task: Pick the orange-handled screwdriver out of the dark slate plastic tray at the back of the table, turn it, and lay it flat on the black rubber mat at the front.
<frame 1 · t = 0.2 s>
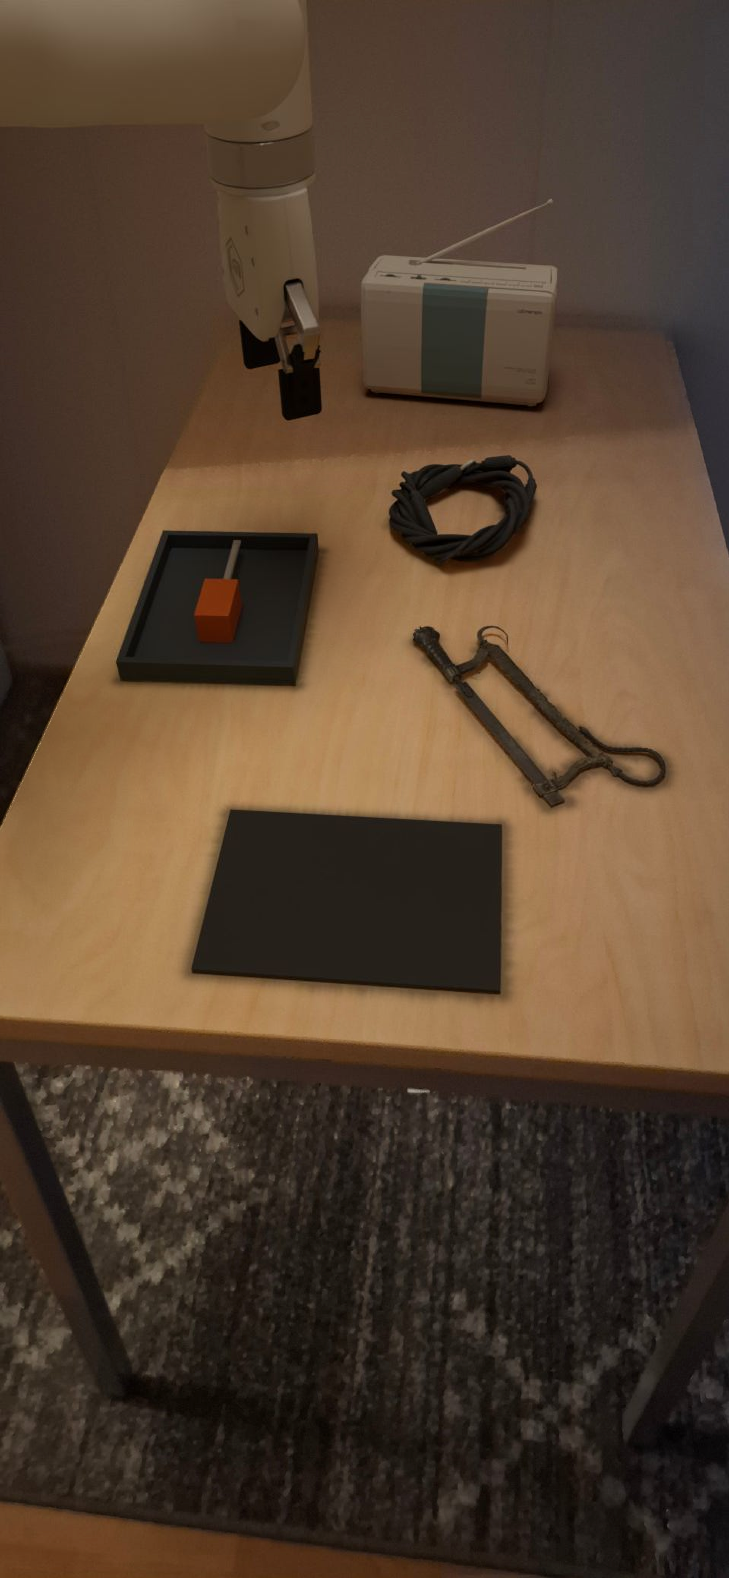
hand: (281, 389, 86), 17 cm above the table, tool pointing down, fingers open, 9 cm apart
screwdriver: (220, 624, 92), point 1 cm above the table, touching tray
radio: (456, 392, 122), on the table
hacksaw: (531, 704, 85), on the table
cable: (457, 525, 103), on the table
tray: (226, 612, 94), on the table
mat: (355, 896, 72), on the table
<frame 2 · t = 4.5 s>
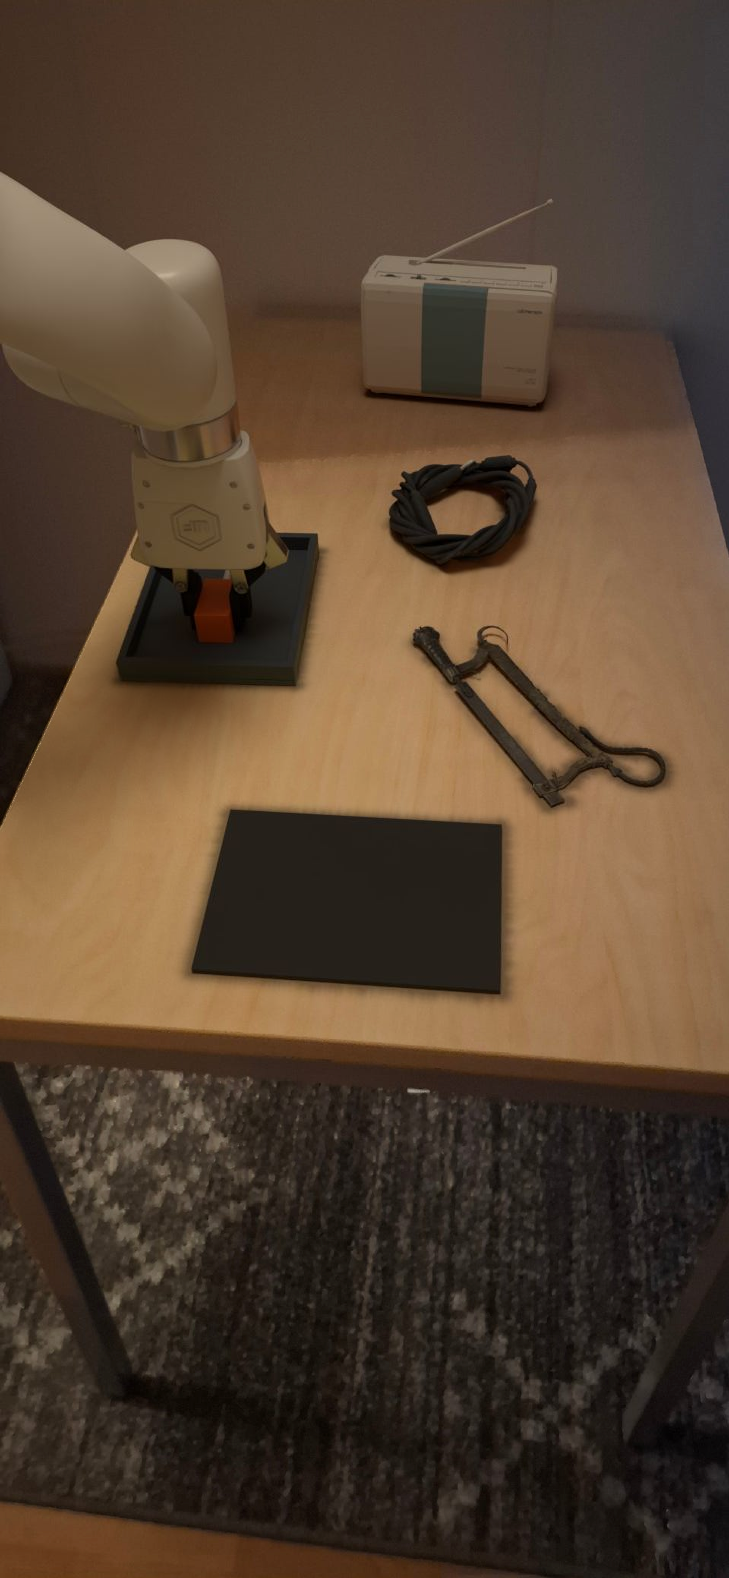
hand: (220, 619, 91), 1 cm above the table, tool pointing down, fingers closed on screwdriver, 3 cm apart
screwdriver: (220, 624, 92), point 1 cm above the table, touching gripper, tray
everything else where it was.
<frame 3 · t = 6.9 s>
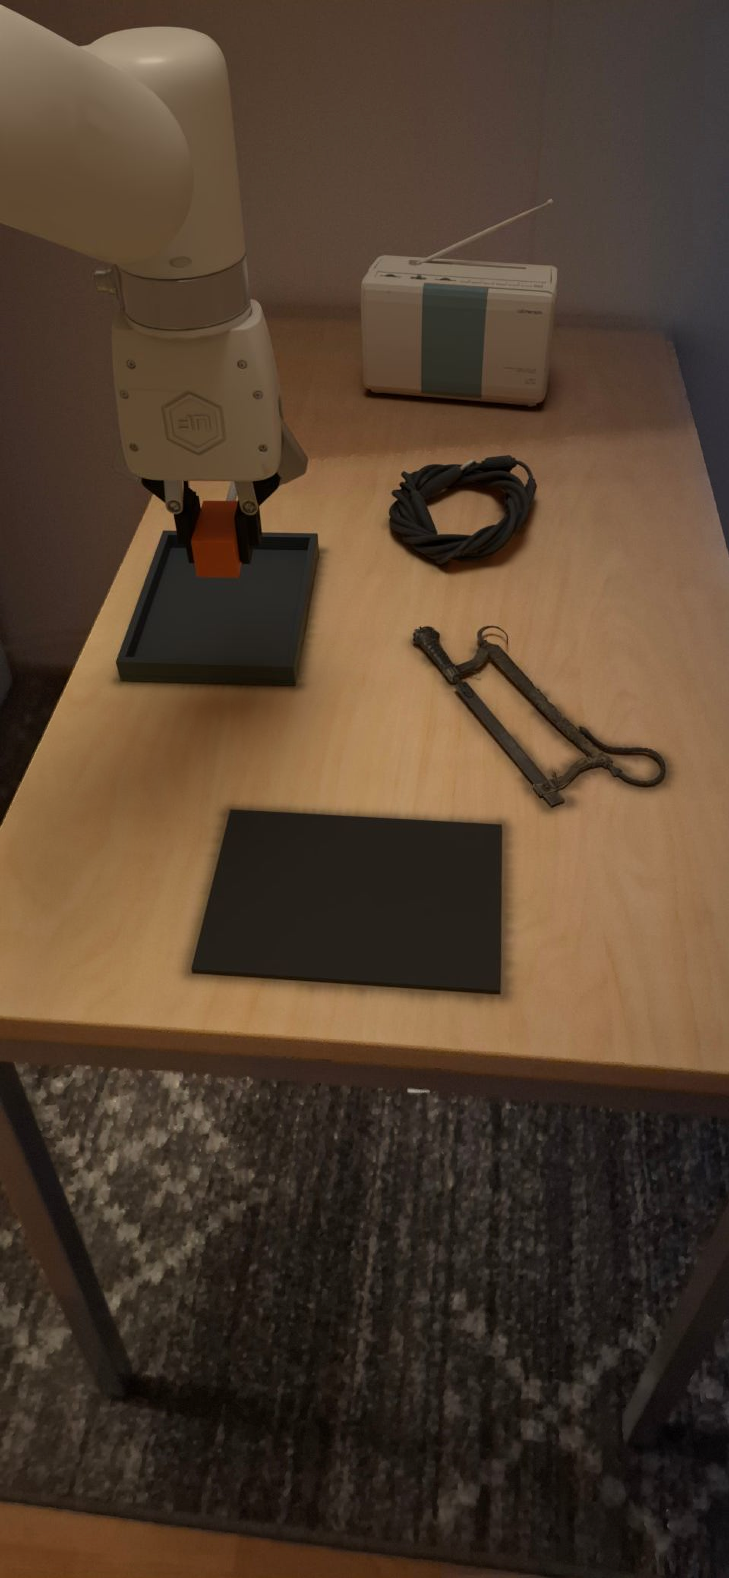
hand: (222, 550, 75), 15 cm above the table, tool pointing down, fingers closed on screwdriver, 3 cm apart
screwdriver: (223, 556, 75), point 14 cm above the table, touching gripper
everything else where it was.
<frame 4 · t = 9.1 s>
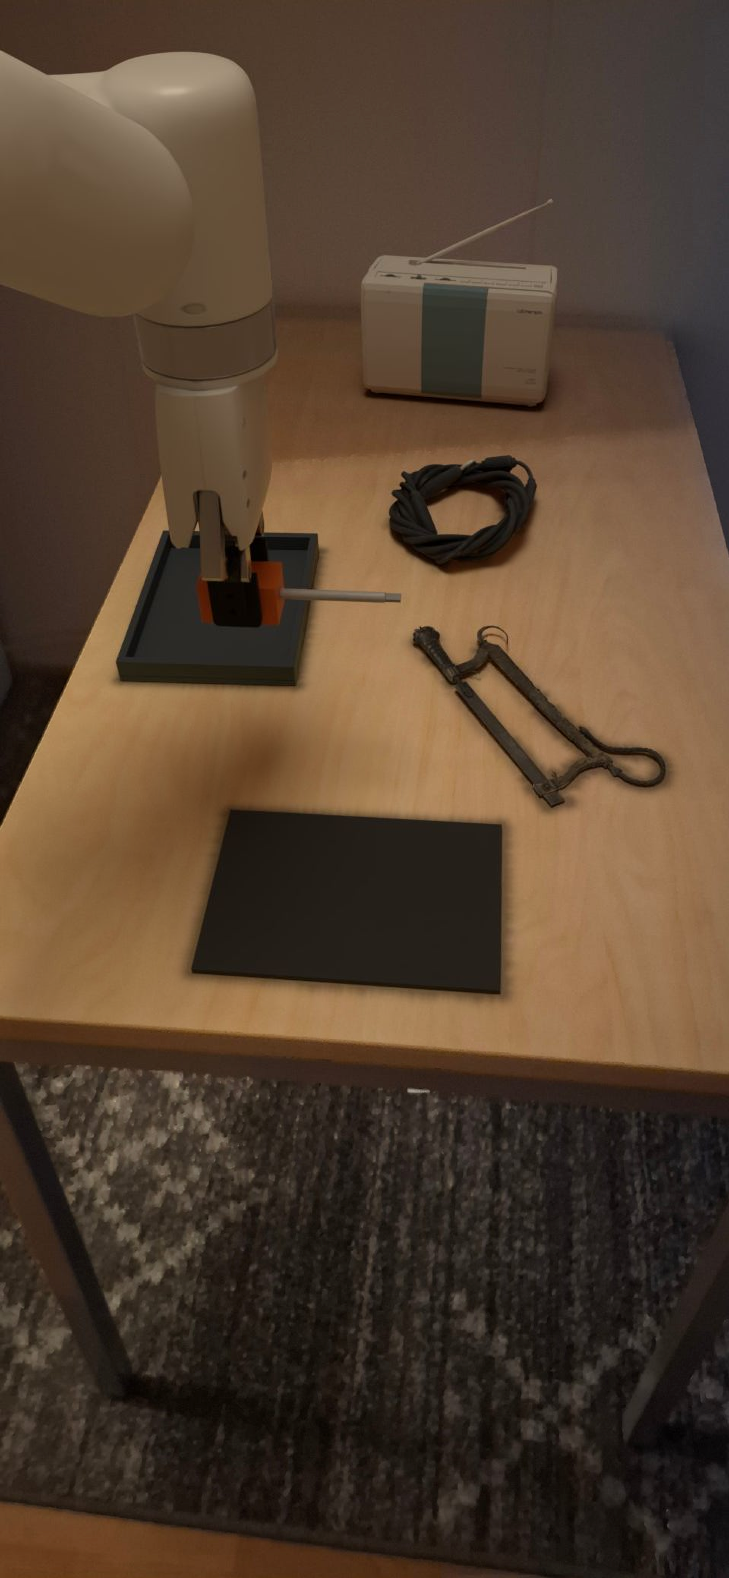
hand: (243, 604, 70), 15 cm above the table, tool pointing down, fingers closed on screwdriver, 3 cm apart
screwdriver: (244, 610, 70), point 15 cm above the table, touching gripper
everything else where it was.
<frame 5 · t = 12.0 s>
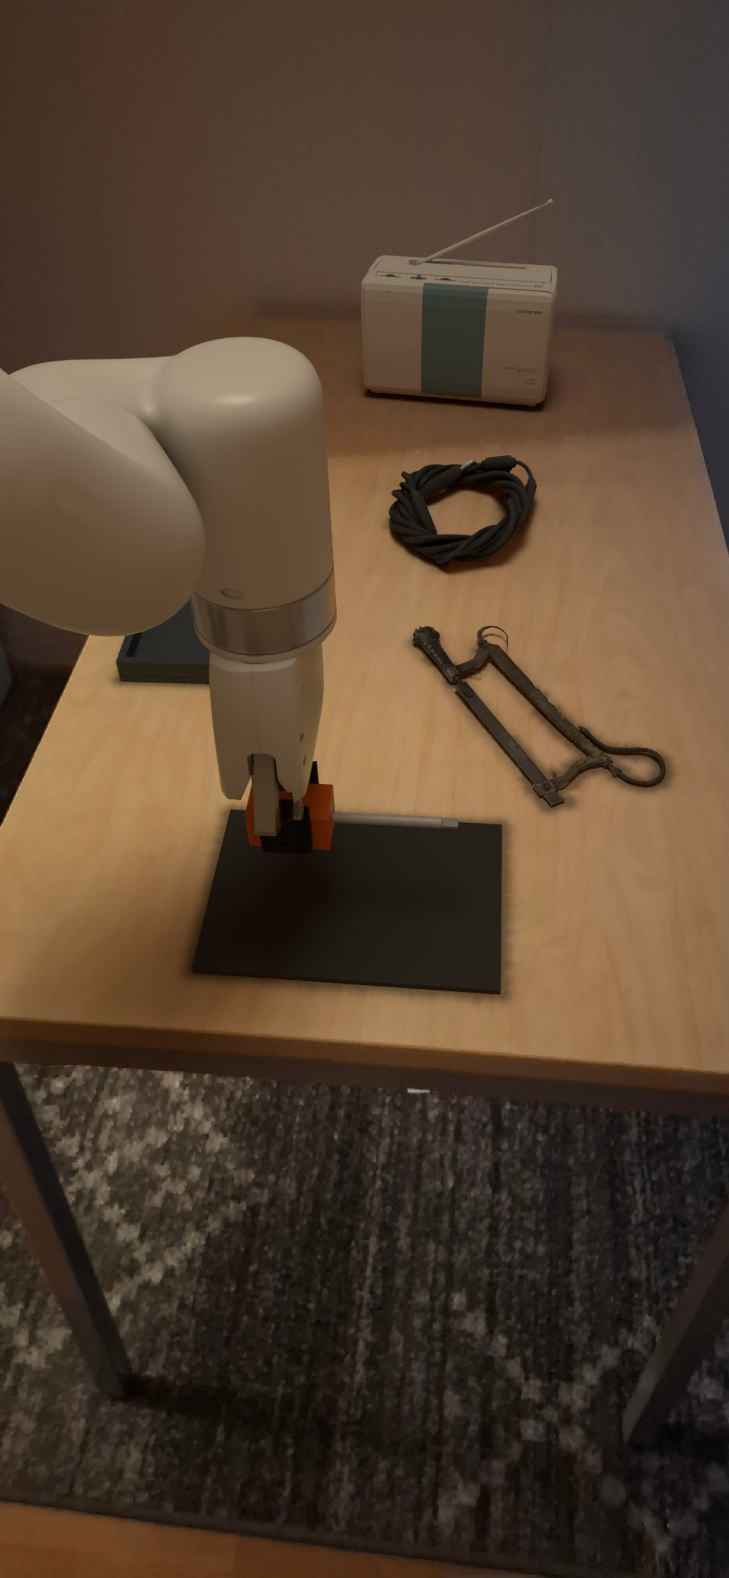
hand: (291, 825, 67), 7 cm above the table, tool pointing down, fingers closed on screwdriver, 3 cm apart
screwdriver: (293, 830, 67), point 7 cm above the table, touching gripper
everything else where it was.
when the fingers open (1 cm above the table, at t = 13.8 s): screwdriver stays where it is, resting on mat.
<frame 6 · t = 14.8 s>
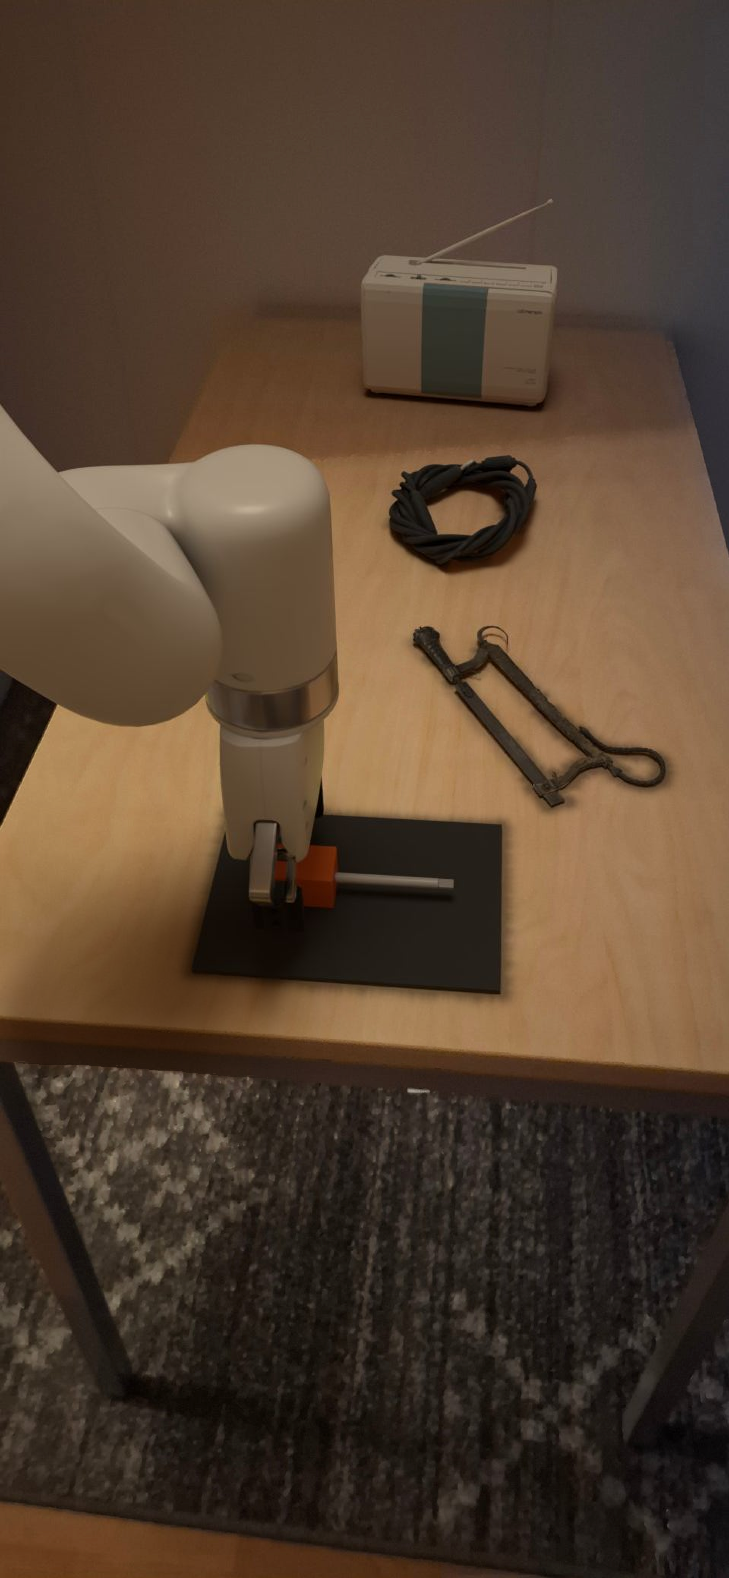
hand: (291, 867, 70), 3 cm above the table, tool pointing down, fingers open, 9 cm apart
screwdriver: (298, 888, 72), resting on mat
everything else where it was.
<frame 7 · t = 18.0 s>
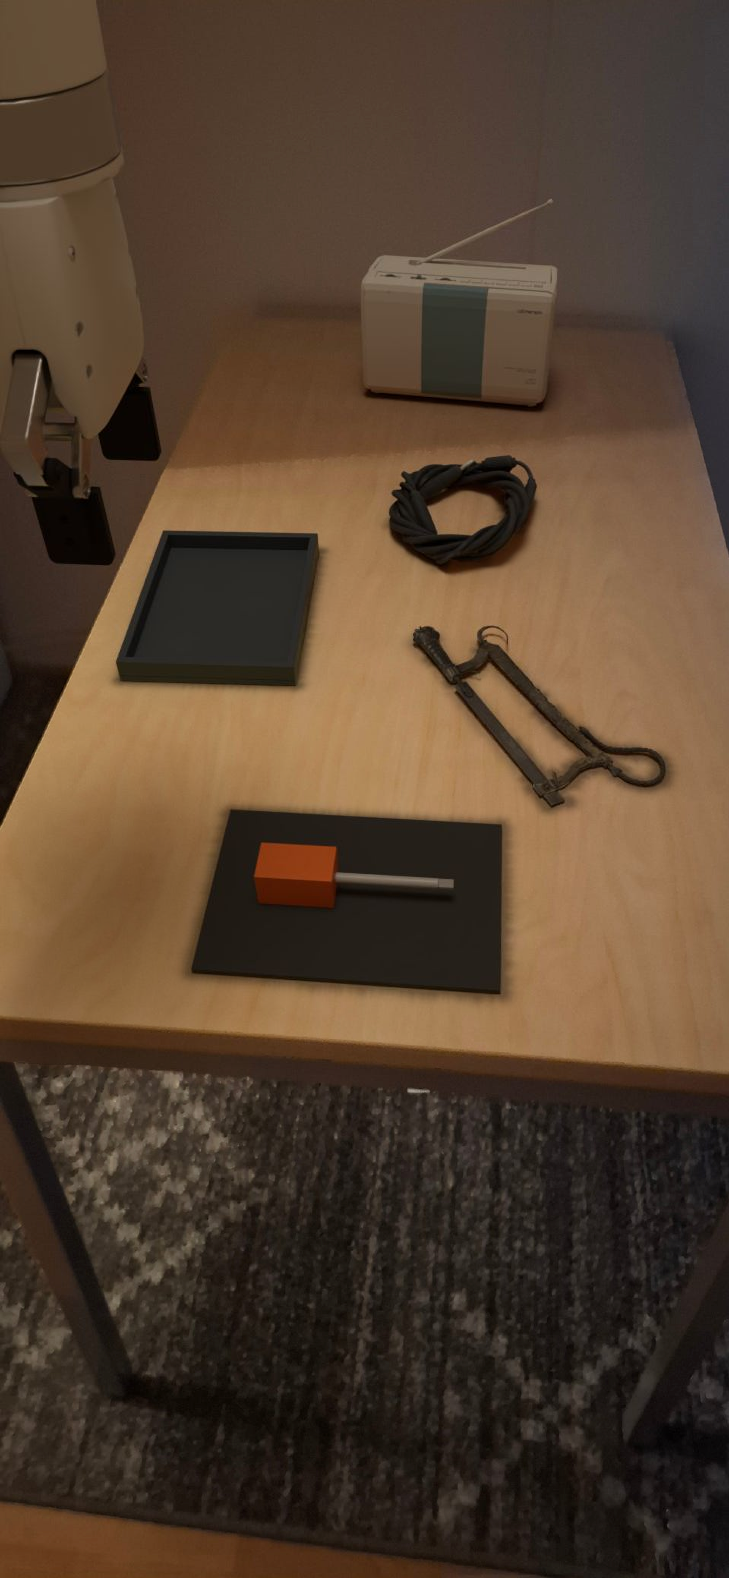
hand: (110, 506, 54), 28 cm above the table, tool pointing down, fingers open, 9 cm apart
nothing on the table moved.
at the end: screwdriver inside the target area on the mat (0.4 cm from its centre), point 0.4 cm above the mat's base; screwdriver touching mat; the gripper is holding nothing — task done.
